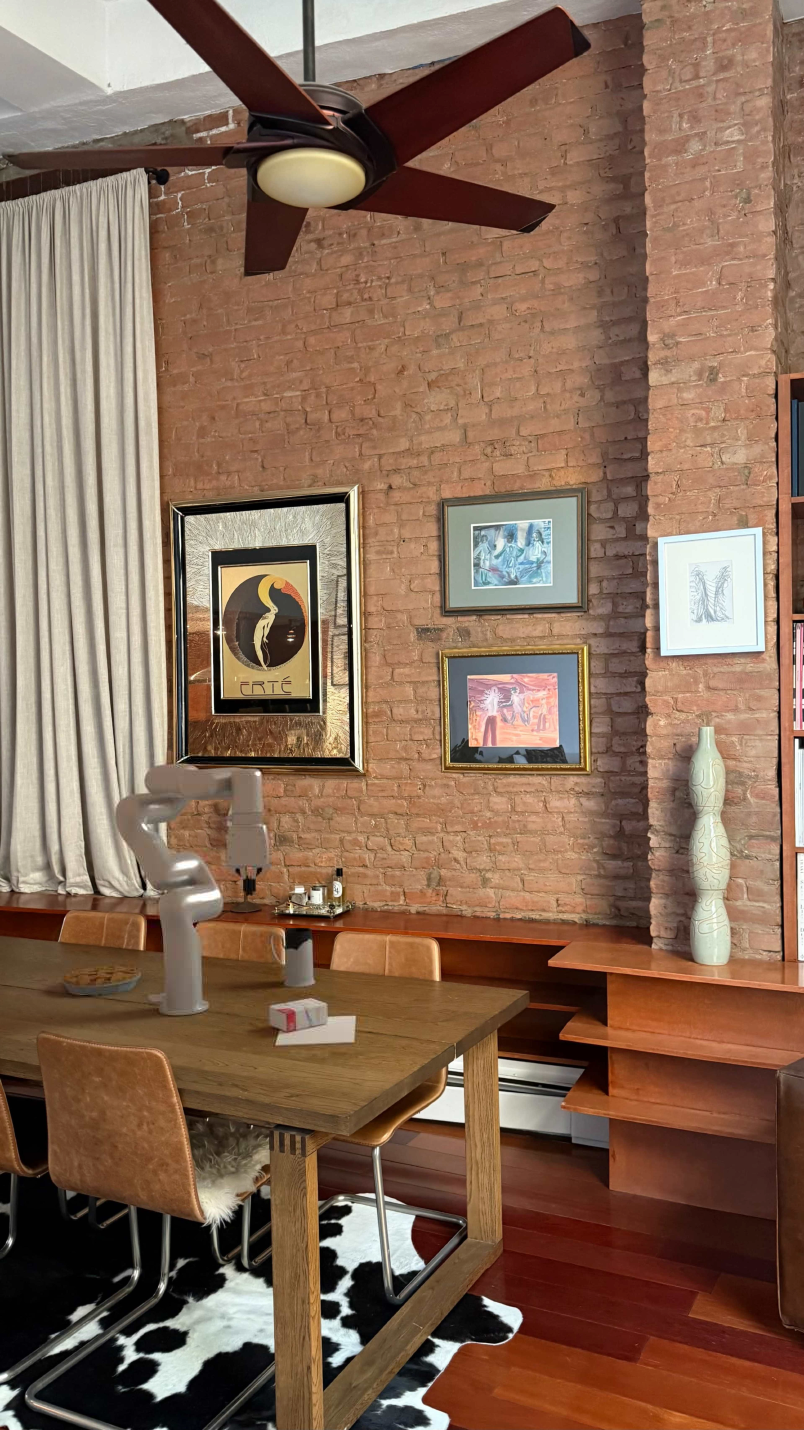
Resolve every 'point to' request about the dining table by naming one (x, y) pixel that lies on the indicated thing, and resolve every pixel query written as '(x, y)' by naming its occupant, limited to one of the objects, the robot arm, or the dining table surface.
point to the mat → (321, 1033)
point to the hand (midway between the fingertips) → (249, 894)
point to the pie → (102, 980)
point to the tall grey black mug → (297, 957)
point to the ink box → (298, 1014)
